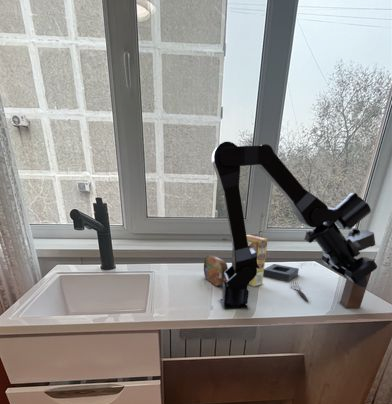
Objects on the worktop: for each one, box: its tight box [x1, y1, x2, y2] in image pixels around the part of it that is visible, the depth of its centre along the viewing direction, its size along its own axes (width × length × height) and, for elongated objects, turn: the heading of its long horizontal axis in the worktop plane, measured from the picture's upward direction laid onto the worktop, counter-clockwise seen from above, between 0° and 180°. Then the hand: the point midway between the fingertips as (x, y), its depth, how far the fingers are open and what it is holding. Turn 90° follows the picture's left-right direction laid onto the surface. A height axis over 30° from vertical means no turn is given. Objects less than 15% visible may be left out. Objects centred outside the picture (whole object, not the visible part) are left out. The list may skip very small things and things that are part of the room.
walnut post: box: [339, 272, 372, 309], centre depth 80 cm, size 4×4×13 cm
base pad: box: [263, 263, 300, 282], centre depth 107 cm, size 10×10×2 cm
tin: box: [203, 255, 229, 287], centre depth 97 cm, size 15×3×8 cm, turn 21°
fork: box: [290, 280, 309, 302], centre depth 91 cm, size 3×16×2 cm, turn 179°
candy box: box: [246, 234, 268, 287], centre depth 96 cm, size 9×4×15 cm, turn 33°
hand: (361, 283), depth 80 cm, fingers open, 4 cm apart
